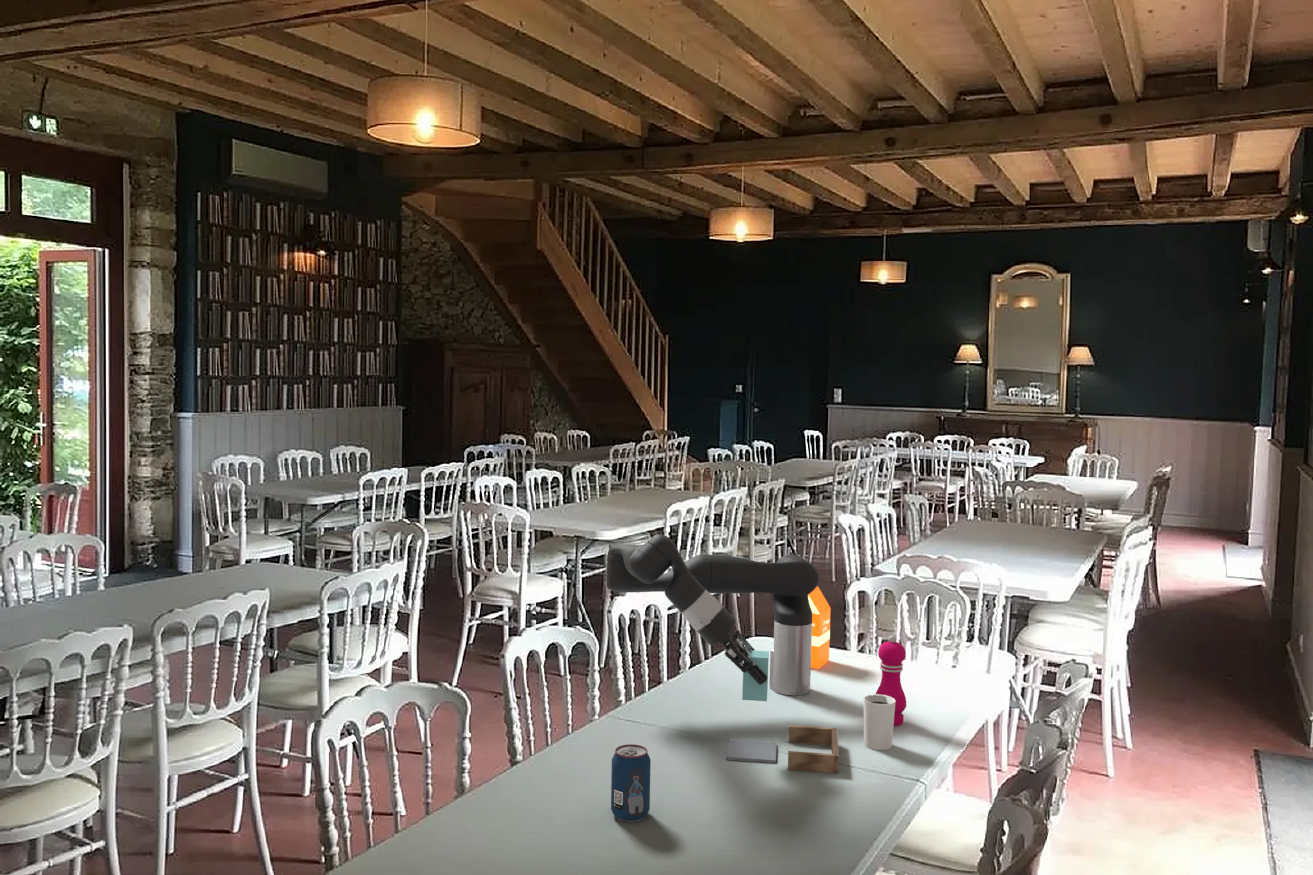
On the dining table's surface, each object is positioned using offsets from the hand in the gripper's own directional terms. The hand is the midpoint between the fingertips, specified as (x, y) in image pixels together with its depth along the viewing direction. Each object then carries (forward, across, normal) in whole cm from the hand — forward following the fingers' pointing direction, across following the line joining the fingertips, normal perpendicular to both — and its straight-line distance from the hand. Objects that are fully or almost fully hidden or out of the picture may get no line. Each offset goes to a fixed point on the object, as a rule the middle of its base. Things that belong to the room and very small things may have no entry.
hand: (764, 677), depth 221 cm
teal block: (+2, 0, -4) cm, 5 cm away
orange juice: (+19, -68, -4) cm, 70 cm away
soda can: (-4, +34, -28) cm, 44 cm away
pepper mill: (+31, -24, +8) cm, 40 cm away
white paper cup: (+29, -9, +6) cm, 31 cm away
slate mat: (+10, 0, -13) cm, 16 cm away
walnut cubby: (+18, 0, -4) cm, 19 cm away
